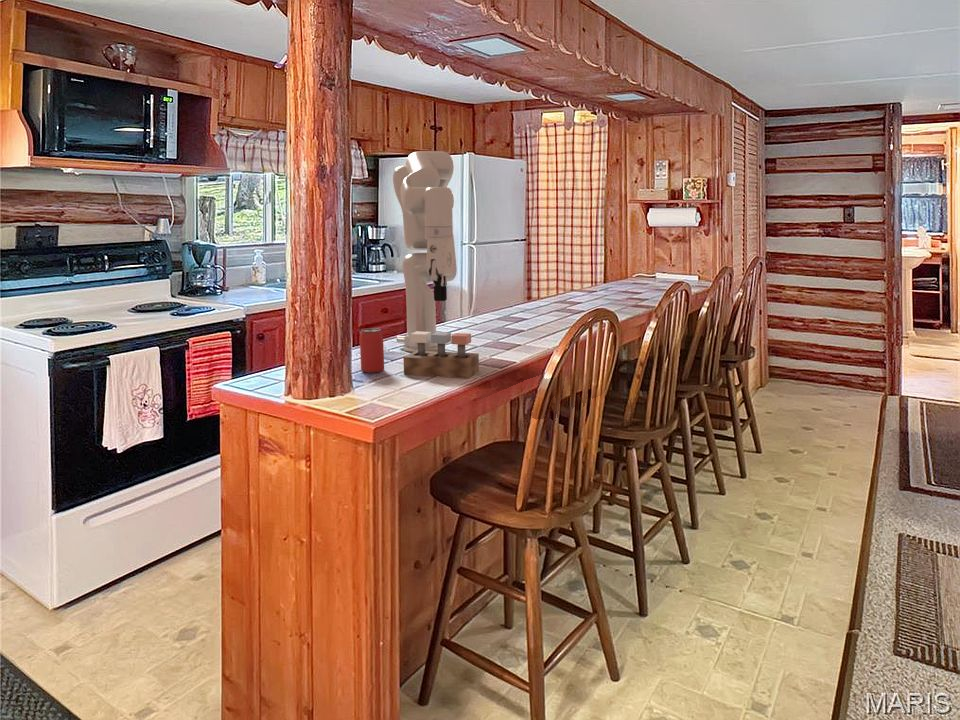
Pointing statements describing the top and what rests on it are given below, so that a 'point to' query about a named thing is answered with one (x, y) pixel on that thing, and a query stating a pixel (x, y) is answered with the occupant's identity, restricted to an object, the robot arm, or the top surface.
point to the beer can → (371, 350)
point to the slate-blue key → (441, 342)
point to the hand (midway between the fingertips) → (440, 300)
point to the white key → (421, 340)
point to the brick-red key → (461, 342)
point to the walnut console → (441, 364)
